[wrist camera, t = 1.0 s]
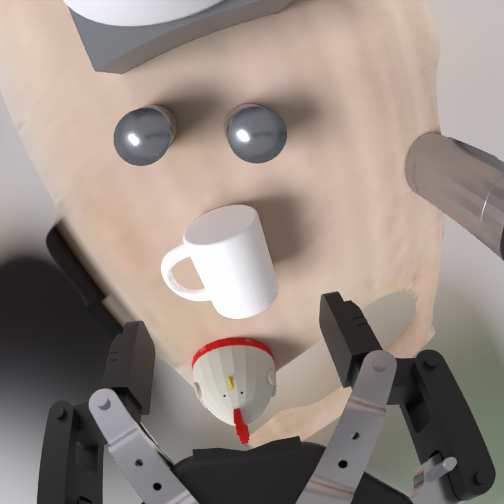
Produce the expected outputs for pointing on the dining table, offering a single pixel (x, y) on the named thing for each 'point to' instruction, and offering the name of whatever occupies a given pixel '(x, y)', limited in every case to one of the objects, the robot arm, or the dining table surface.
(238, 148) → the cylinder
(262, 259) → the mug
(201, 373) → the kitchen timer
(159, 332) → the dining table surface
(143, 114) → the cylinder
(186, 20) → the scale
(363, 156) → the dining table surface
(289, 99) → the dining table surface
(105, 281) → the dining table surface
